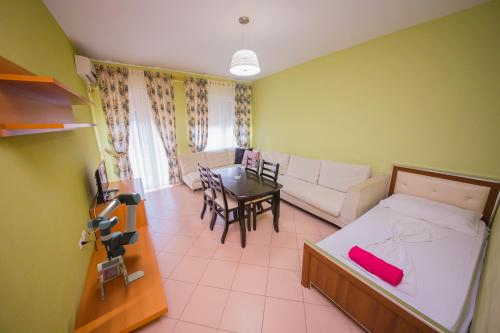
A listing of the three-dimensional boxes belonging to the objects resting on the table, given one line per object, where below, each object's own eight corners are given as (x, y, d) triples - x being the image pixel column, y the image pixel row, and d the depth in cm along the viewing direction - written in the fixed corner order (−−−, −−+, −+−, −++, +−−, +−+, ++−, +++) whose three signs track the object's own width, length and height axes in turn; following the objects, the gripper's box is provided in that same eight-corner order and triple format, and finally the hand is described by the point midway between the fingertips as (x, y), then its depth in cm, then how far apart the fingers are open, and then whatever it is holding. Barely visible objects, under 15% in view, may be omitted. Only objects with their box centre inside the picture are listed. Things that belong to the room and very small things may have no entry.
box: (104, 279, 157) (102, 268, 154) (106, 275, 162) (104, 263, 159) (118, 275, 161) (117, 264, 159) (119, 271, 166) (118, 260, 164)
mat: (127, 276, 160) (127, 276, 160) (142, 269, 168) (142, 269, 168) (129, 282, 153) (128, 282, 153) (144, 275, 161) (144, 274, 161)
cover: (97, 265, 156) (96, 260, 155) (121, 256, 168) (120, 251, 167) (98, 272, 148) (97, 267, 147) (123, 262, 160) (122, 257, 159)
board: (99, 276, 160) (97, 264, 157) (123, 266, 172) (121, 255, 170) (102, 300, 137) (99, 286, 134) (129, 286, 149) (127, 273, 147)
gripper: (100, 237, 154) (104, 261, 158) (101, 243, 144) (105, 269, 148) (111, 233, 159) (114, 257, 163) (112, 239, 149) (116, 264, 153)
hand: (110, 262), depth 155 cm, fingers closed
